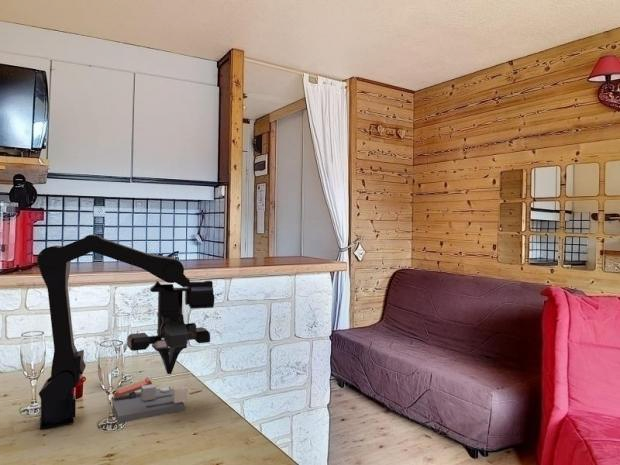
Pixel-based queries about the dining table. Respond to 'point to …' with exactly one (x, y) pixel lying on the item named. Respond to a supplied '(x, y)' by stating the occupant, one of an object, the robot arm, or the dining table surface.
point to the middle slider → (148, 392)
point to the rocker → (132, 388)
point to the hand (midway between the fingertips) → (169, 373)
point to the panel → (145, 405)
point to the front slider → (179, 394)
